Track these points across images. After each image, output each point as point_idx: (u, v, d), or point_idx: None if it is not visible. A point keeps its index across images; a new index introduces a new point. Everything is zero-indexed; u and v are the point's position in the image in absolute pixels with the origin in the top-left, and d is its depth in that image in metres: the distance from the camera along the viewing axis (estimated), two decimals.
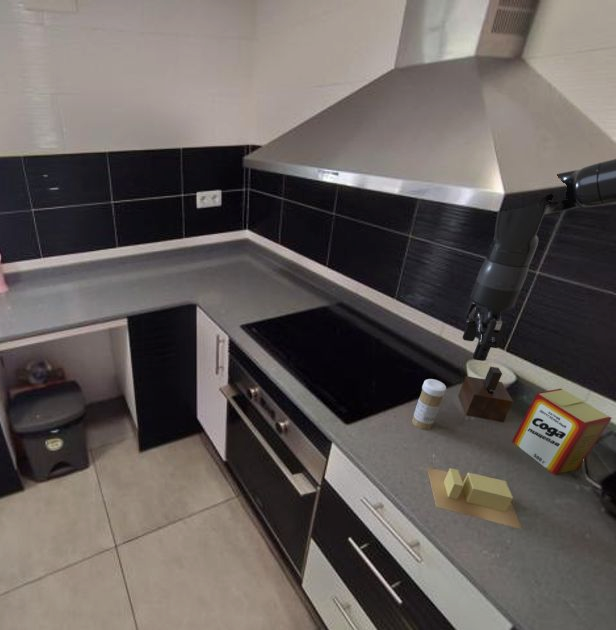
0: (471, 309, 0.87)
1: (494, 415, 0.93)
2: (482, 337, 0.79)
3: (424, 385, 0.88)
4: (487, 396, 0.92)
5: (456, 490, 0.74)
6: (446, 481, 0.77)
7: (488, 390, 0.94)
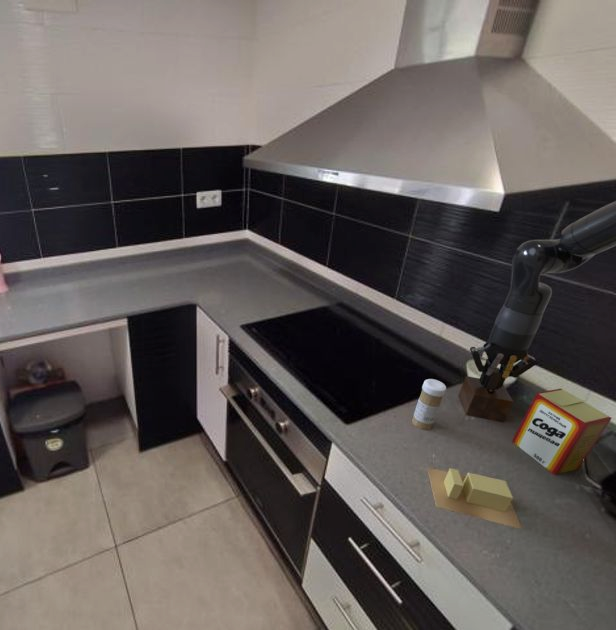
0: (517, 363, 0.91)
1: (494, 415, 0.93)
2: (484, 365, 0.94)
3: (424, 385, 0.88)
4: (487, 396, 0.92)
5: (456, 490, 0.74)
6: (446, 481, 0.77)
7: (488, 390, 0.94)
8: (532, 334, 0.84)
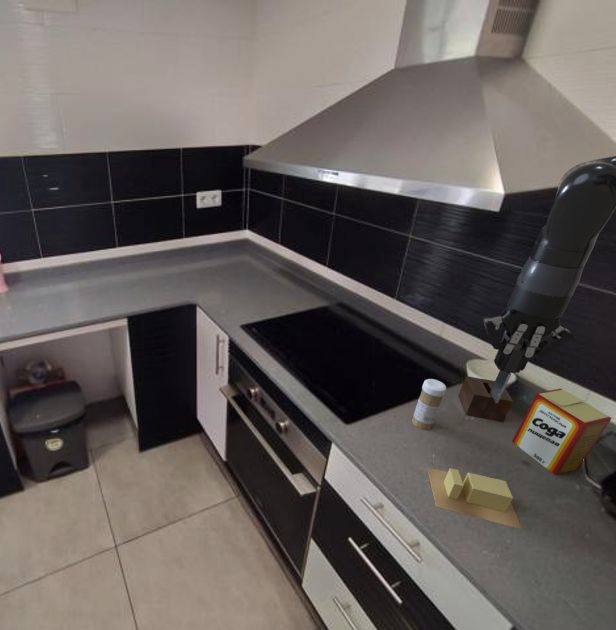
0: (545, 338, 0.69)
1: (494, 415, 0.93)
2: (501, 341, 0.72)
3: (424, 385, 0.88)
4: (487, 396, 0.92)
5: (456, 490, 0.74)
6: (446, 481, 0.77)
7: (506, 374, 0.73)
8: (568, 296, 0.62)
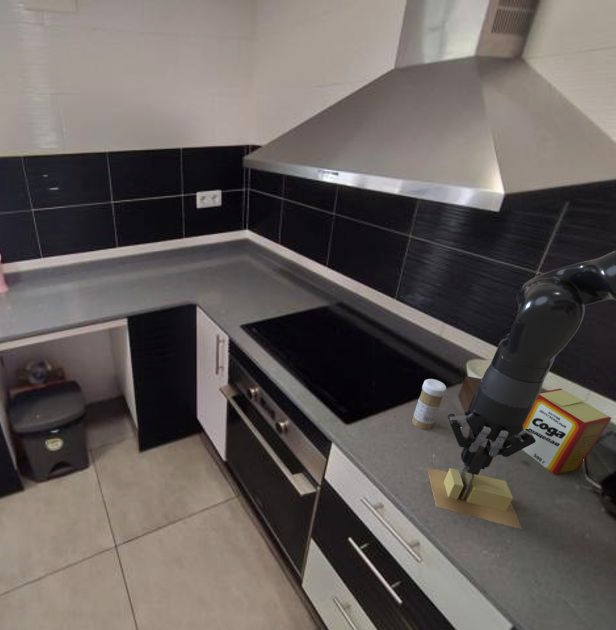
0: (509, 438, 0.69)
1: None
2: (467, 437, 0.71)
3: (424, 385, 0.88)
4: None
5: (456, 490, 0.74)
6: (446, 481, 0.77)
7: (469, 474, 0.72)
8: (529, 406, 0.61)
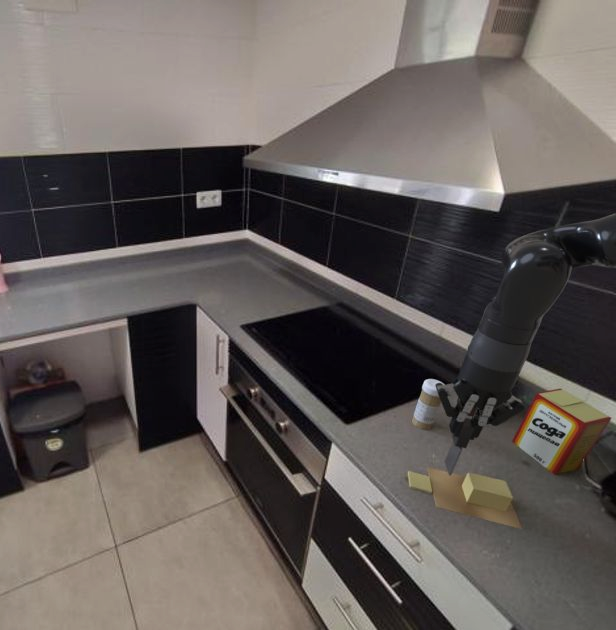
0: (499, 406, 0.67)
1: None
2: (455, 407, 0.70)
3: (424, 385, 0.88)
4: None
5: None
6: None
7: (457, 448, 0.71)
8: (517, 371, 0.60)
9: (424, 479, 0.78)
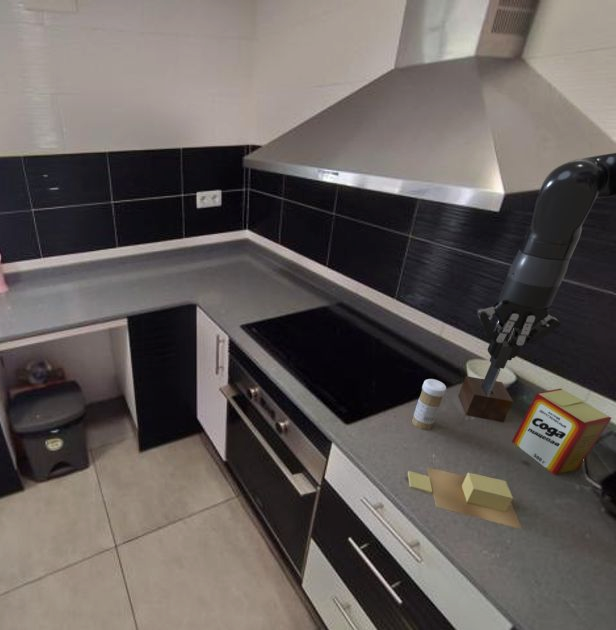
0: (535, 327, 0.73)
1: (494, 415, 0.93)
2: (494, 330, 0.76)
3: (424, 385, 0.88)
4: None
5: None
6: None
7: (495, 369, 0.77)
8: (556, 286, 0.66)
9: (424, 479, 0.78)
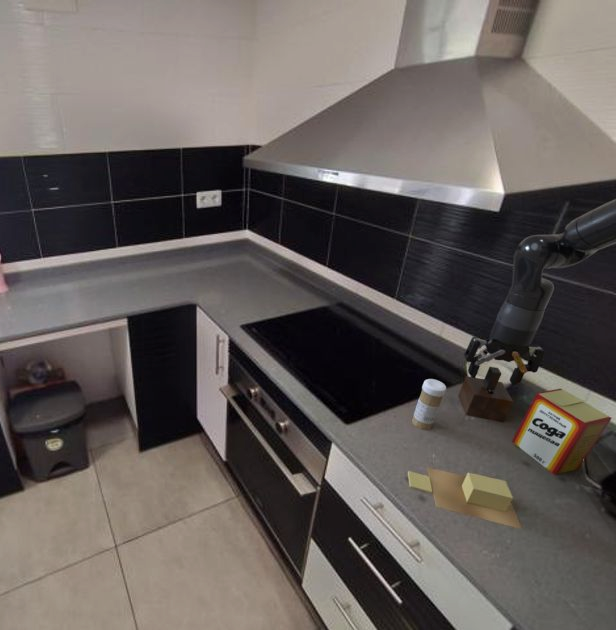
0: (530, 357, 0.89)
1: (494, 415, 0.93)
2: (476, 355, 0.93)
3: (424, 385, 0.88)
4: (487, 396, 0.92)
5: None
6: None
7: (487, 390, 0.94)
8: (534, 330, 0.83)
9: (424, 479, 0.78)
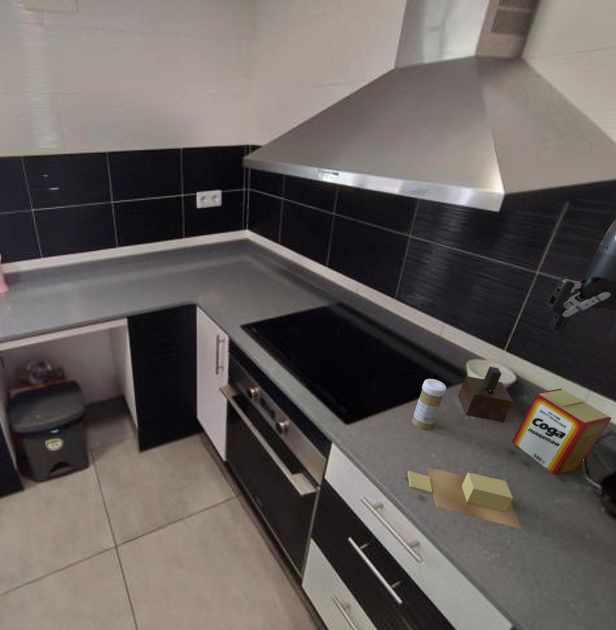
0: None
1: (494, 415, 0.93)
2: (564, 303, 0.70)
3: (424, 385, 0.88)
4: (487, 396, 0.92)
5: None
6: None
7: (487, 390, 0.94)
8: None
9: (424, 479, 0.78)
